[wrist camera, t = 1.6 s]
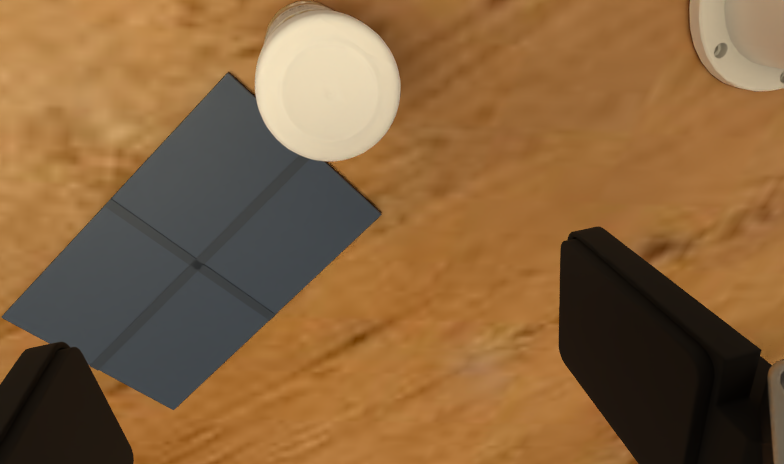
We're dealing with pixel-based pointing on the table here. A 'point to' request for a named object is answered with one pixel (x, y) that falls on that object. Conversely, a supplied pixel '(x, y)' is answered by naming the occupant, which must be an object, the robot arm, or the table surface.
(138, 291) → the napkin
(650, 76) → the table surface
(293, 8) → the spice jar
